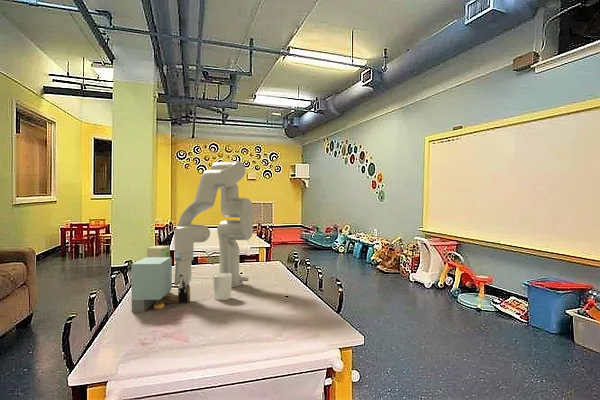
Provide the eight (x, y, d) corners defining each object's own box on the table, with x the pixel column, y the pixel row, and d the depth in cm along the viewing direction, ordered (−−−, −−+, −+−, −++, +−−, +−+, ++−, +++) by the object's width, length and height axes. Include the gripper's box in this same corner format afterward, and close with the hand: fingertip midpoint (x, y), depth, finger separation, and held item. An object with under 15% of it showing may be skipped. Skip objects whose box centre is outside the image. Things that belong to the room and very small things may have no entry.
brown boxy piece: (190, 300, 166) (190, 286, 166) (188, 302, 162) (188, 288, 162) (158, 301, 165) (158, 286, 165) (155, 303, 161) (155, 288, 161)
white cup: (235, 297, 172) (235, 273, 171) (224, 301, 164) (224, 277, 164) (220, 295, 175) (220, 272, 175) (209, 299, 168) (209, 275, 168)
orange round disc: (165, 306, 158) (165, 302, 158) (162, 309, 154) (162, 305, 154) (155, 306, 158) (155, 302, 158) (152, 309, 154) (152, 305, 154)
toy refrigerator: (162, 296, 172) (161, 248, 172) (146, 295, 174) (146, 247, 173) (171, 292, 180) (171, 245, 180) (156, 291, 182) (156, 245, 181)
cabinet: (171, 300, 166) (171, 257, 166) (160, 311, 150) (160, 263, 150) (145, 300, 166) (145, 257, 166) (131, 311, 150) (131, 264, 150)
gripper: (179, 253, 172) (179, 296, 172) (169, 259, 155) (169, 306, 155) (197, 253, 172) (197, 295, 172) (188, 259, 155) (189, 306, 156)
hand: (184, 300), depth 164 cm, fingers closed on brown boxy piece, 3 cm apart
